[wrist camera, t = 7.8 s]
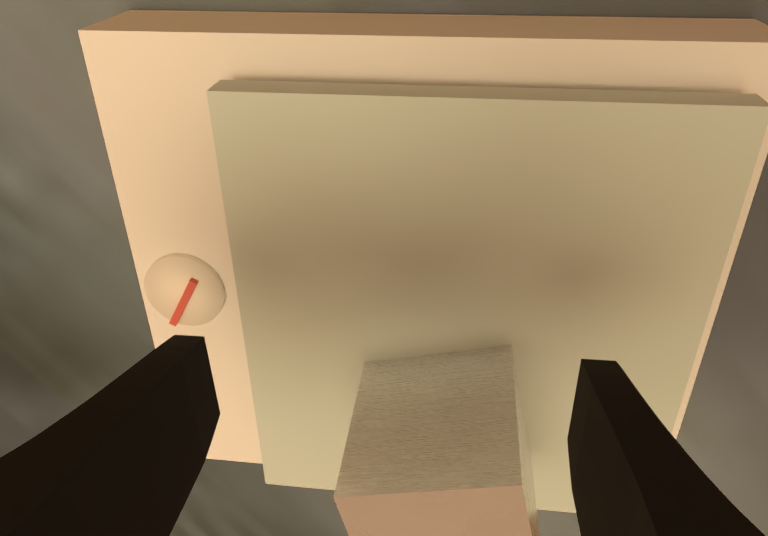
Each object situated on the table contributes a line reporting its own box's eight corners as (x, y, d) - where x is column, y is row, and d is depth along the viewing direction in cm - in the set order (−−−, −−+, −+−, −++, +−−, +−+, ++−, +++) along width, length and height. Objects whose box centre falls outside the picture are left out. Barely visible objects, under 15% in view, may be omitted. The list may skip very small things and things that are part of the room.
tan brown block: (511, 345, 18) (522, 485, 14) (531, 453, 21) (545, 603, 16) (364, 362, 19) (333, 497, 15) (397, 463, 22) (378, 607, 17)
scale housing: (755, 18, 18) (812, 48, 15) (639, 437, 26) (660, 510, 23) (129, 10, 20) (67, 34, 17) (208, 402, 28) (176, 466, 25)
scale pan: (756, 93, 15) (773, 106, 14) (638, 494, 22) (644, 519, 22) (220, 79, 16) (206, 90, 16) (273, 461, 24) (265, 483, 23)
